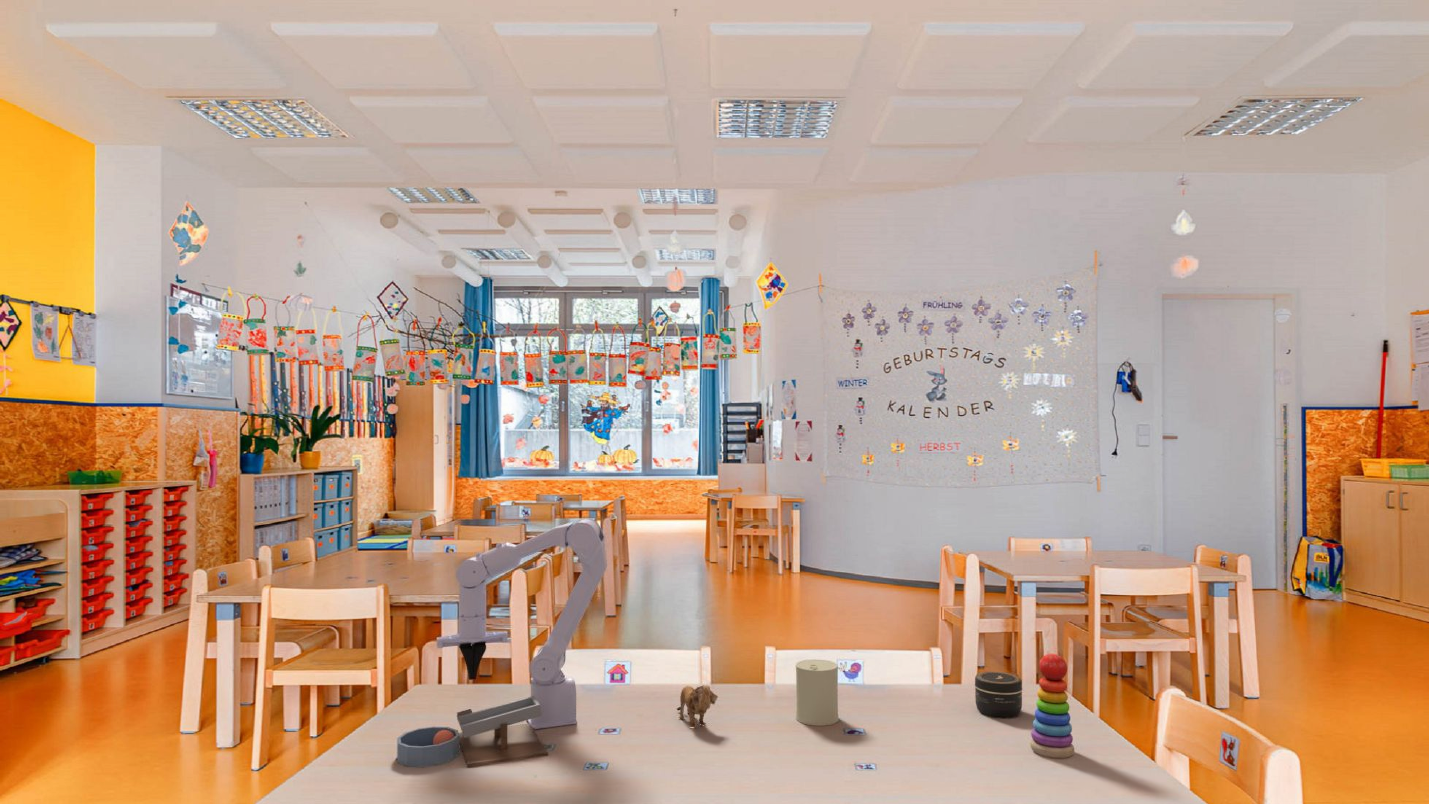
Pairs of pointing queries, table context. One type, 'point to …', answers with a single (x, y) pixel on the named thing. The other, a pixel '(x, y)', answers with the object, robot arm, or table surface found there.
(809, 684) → the can
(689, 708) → the lion figurine
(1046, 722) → the stacking toy
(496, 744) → the catapult base
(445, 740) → the ball
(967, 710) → the table surface
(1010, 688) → the jar
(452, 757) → the bowl
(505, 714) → the lever
